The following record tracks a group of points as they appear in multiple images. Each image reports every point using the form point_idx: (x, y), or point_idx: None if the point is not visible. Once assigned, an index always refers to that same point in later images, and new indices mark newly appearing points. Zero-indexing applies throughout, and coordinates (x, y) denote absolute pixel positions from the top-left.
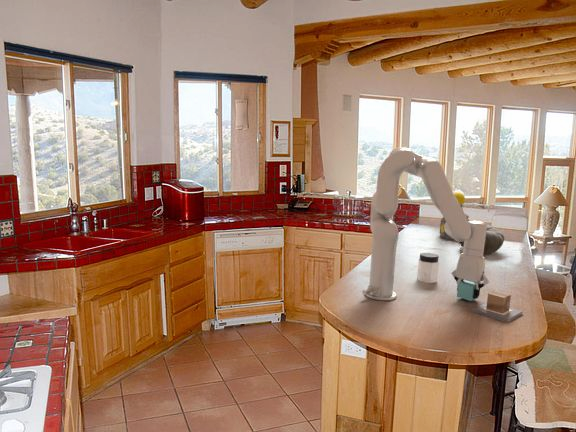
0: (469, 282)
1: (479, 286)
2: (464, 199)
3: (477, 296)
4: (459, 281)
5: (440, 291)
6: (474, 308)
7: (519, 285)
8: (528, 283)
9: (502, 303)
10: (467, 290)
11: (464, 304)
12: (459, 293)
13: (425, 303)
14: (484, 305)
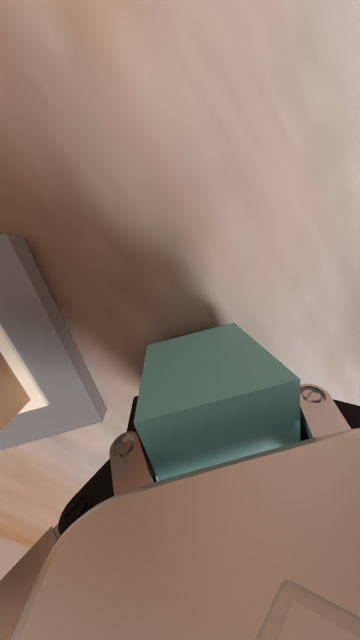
0: None
1: (108, 477)
2: None
3: (135, 397)
4: (310, 409)
5: (344, 333)
6: (10, 248)
7: None
8: None
9: None
10: (180, 371)
11: (151, 297)
12: (228, 336)
13: (284, 14)
14: (51, 357)
